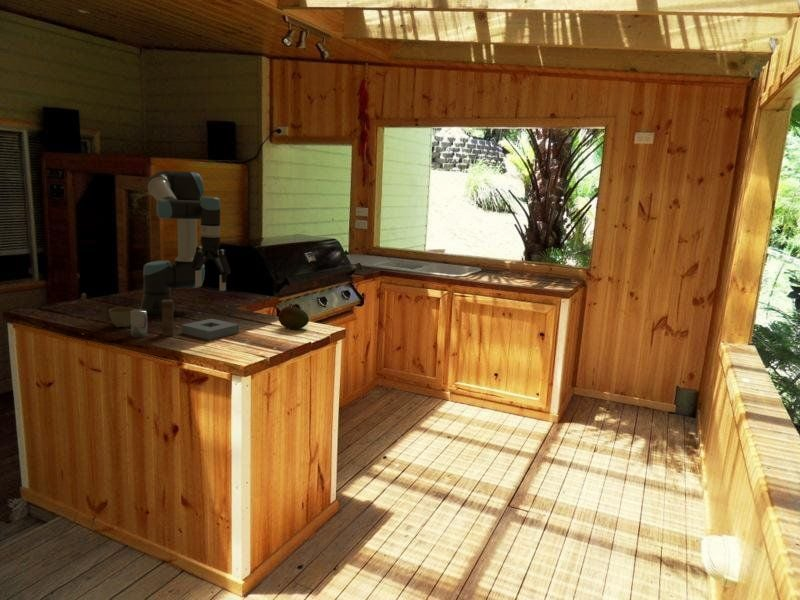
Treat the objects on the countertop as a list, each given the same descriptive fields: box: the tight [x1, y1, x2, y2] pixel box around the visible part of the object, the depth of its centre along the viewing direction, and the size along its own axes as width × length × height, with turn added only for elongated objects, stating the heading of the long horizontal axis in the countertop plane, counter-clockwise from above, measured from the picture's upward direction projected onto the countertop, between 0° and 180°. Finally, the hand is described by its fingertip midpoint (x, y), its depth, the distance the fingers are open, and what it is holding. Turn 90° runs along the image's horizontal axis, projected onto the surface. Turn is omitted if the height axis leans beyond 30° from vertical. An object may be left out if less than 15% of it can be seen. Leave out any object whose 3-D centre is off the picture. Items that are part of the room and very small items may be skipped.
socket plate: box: [180, 318, 240, 341], centre depth 249 cm, size 16×16×4 cm
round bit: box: [130, 308, 149, 338], centre depth 238 cm, size 6×6×10 cm
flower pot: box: [108, 306, 136, 328], centre depth 251 cm, size 10×10×7 cm
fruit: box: [277, 306, 310, 330], centre depth 264 cm, size 12×12×10 cm
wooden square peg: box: [161, 299, 175, 337], centre depth 241 cm, size 4×4×14 cm
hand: (210, 288), depth 246 cm, fingers open, 13 cm apart
